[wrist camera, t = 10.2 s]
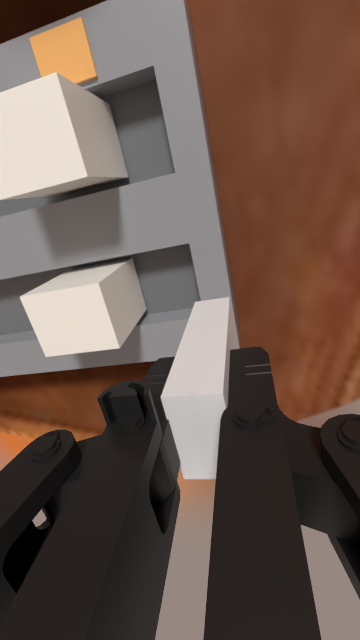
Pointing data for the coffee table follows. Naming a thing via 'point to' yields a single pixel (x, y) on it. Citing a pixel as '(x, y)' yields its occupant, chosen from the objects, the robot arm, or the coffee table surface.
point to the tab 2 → (86, 308)
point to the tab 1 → (56, 140)
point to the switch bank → (121, 182)
